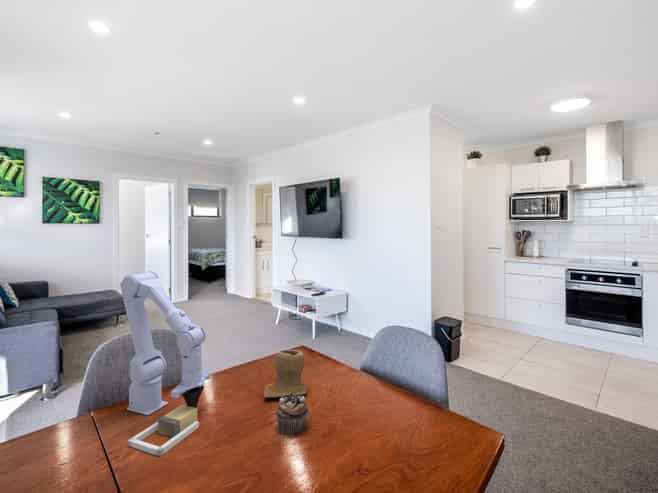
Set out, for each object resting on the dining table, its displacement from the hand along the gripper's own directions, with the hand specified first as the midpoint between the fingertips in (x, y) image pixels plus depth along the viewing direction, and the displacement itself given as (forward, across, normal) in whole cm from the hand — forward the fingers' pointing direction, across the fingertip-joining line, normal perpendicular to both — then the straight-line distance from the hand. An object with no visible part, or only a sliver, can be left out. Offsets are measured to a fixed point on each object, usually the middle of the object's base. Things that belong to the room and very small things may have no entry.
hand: (192, 410), depth 106 cm
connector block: (+2, -6, 0) cm, 6 cm away
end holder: (+2, -10, 0) cm, 10 cm away
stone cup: (+2, +25, -19) cm, 32 cm away
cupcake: (+2, +7, -31) cm, 32 cm away
